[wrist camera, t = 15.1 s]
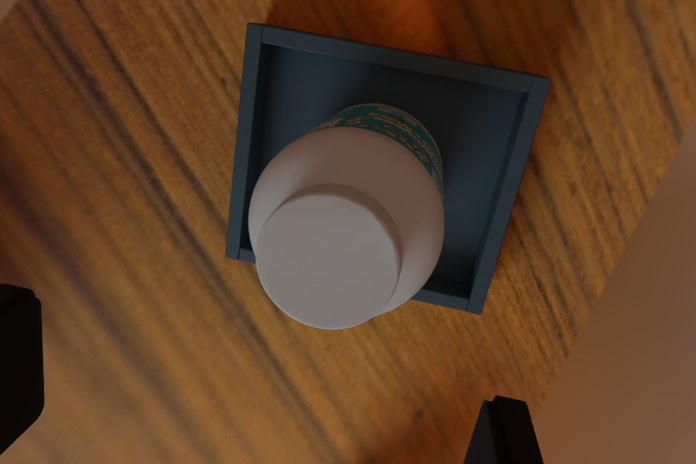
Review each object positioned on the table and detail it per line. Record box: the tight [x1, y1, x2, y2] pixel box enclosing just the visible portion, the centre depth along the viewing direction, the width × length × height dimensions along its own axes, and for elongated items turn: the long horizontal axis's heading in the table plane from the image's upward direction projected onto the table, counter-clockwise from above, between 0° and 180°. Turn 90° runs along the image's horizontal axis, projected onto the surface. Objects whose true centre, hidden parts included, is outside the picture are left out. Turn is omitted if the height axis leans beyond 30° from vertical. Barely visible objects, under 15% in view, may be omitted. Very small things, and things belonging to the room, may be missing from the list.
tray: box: [225, 23, 551, 315], centre depth 29 cm, size 15×13×3 cm
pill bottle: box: [248, 103, 444, 330], centre depth 23 cm, size 8×7×14 cm
